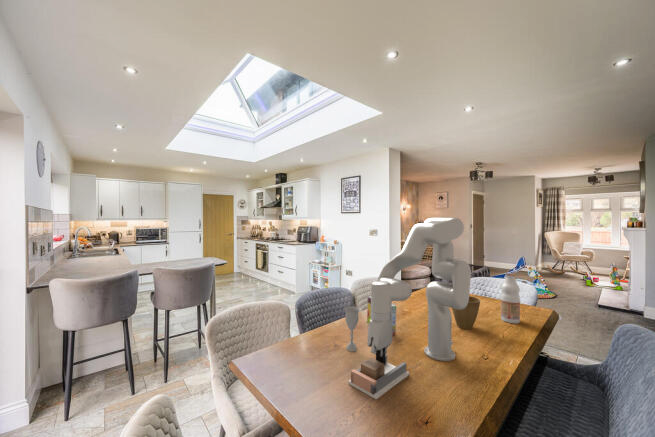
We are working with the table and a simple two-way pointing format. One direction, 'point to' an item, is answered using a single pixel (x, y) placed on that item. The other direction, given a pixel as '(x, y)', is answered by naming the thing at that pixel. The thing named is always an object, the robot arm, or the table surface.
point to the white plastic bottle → (510, 300)
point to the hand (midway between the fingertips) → (380, 365)
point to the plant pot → (467, 314)
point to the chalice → (351, 324)
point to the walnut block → (373, 368)
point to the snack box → (391, 316)
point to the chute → (378, 380)
